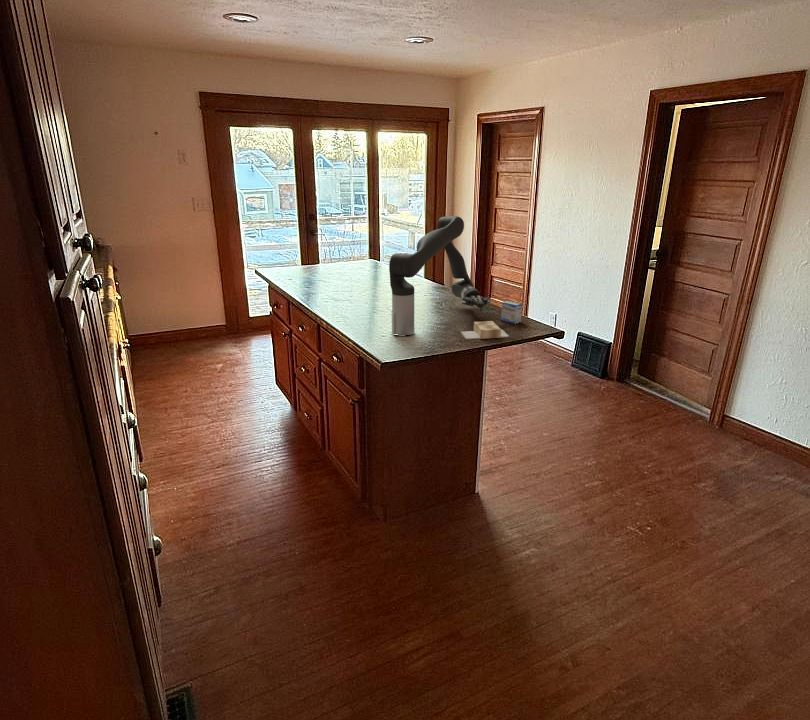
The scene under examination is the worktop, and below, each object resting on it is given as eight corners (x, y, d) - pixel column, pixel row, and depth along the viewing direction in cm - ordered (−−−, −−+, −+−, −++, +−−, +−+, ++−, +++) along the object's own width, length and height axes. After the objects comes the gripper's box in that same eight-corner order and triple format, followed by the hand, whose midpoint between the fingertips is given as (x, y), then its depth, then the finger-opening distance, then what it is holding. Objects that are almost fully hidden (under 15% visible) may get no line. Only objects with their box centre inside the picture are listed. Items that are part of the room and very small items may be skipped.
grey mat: (466, 339, 210) (466, 338, 210) (460, 332, 218) (460, 331, 218) (508, 337, 212) (509, 336, 212) (502, 330, 221) (502, 329, 220)
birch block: (473, 329, 221) (481, 338, 209) (473, 321, 219) (481, 330, 208) (491, 328, 222) (500, 337, 211) (492, 320, 220) (501, 329, 209)
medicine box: (500, 320, 234) (501, 302, 231) (506, 318, 237) (507, 300, 234) (515, 324, 229) (516, 305, 226) (521, 322, 232) (522, 303, 228)
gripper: (457, 288, 235) (466, 298, 219) (485, 287, 237) (496, 296, 221) (456, 304, 238) (465, 315, 222) (484, 303, 240) (495, 313, 224)
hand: (481, 305), depth 222 cm, fingers closed
